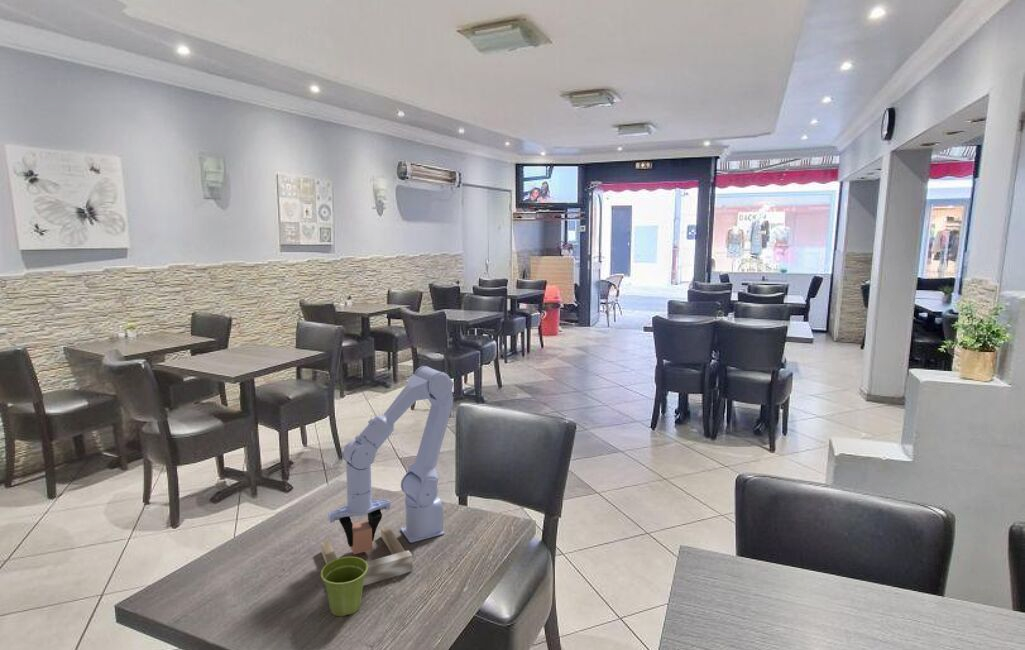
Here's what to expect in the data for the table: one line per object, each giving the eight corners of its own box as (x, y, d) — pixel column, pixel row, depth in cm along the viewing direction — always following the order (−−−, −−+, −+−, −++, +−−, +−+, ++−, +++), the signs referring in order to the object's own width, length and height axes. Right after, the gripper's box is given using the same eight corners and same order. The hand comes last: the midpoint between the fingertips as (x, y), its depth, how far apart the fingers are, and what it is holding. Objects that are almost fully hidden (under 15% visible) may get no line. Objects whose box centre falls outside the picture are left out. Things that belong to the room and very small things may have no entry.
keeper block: (367, 540, 136) (367, 520, 135) (372, 549, 132) (371, 528, 132) (349, 545, 134) (348, 524, 133) (353, 554, 130) (353, 533, 129)
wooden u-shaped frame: (388, 534, 142) (388, 520, 141) (412, 571, 126) (412, 555, 126) (321, 551, 134) (320, 536, 133) (337, 593, 118) (337, 576, 117)
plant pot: (377, 598, 116) (376, 561, 115) (351, 627, 107) (349, 587, 106) (341, 589, 119) (339, 552, 118) (312, 616, 110) (310, 577, 109)
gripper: (383, 477, 138) (384, 527, 140) (324, 489, 131) (326, 541, 133) (392, 488, 132) (393, 540, 134) (331, 501, 125) (333, 556, 127)
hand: (360, 542), depth 133 cm, fingers closed on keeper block, 4 cm apart
